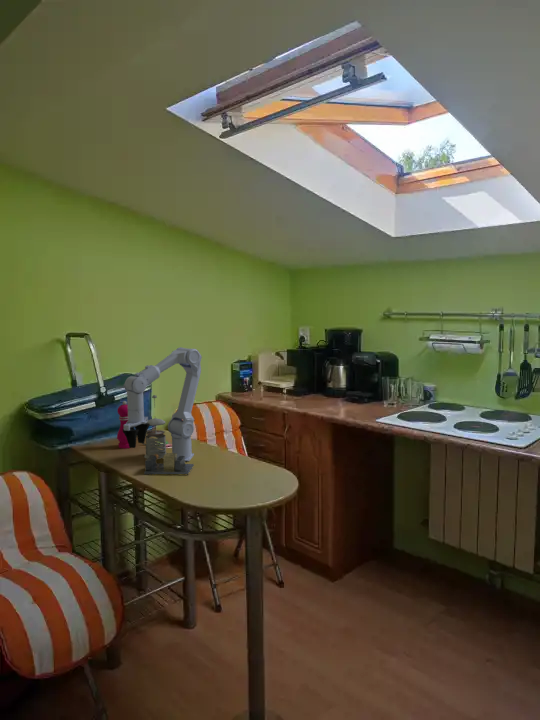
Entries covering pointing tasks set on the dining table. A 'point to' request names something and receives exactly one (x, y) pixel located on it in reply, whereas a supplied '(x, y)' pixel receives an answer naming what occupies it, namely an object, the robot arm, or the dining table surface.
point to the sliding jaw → (151, 462)
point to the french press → (160, 437)
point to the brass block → (170, 461)
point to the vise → (179, 469)
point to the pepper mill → (122, 425)
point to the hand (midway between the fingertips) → (136, 445)
